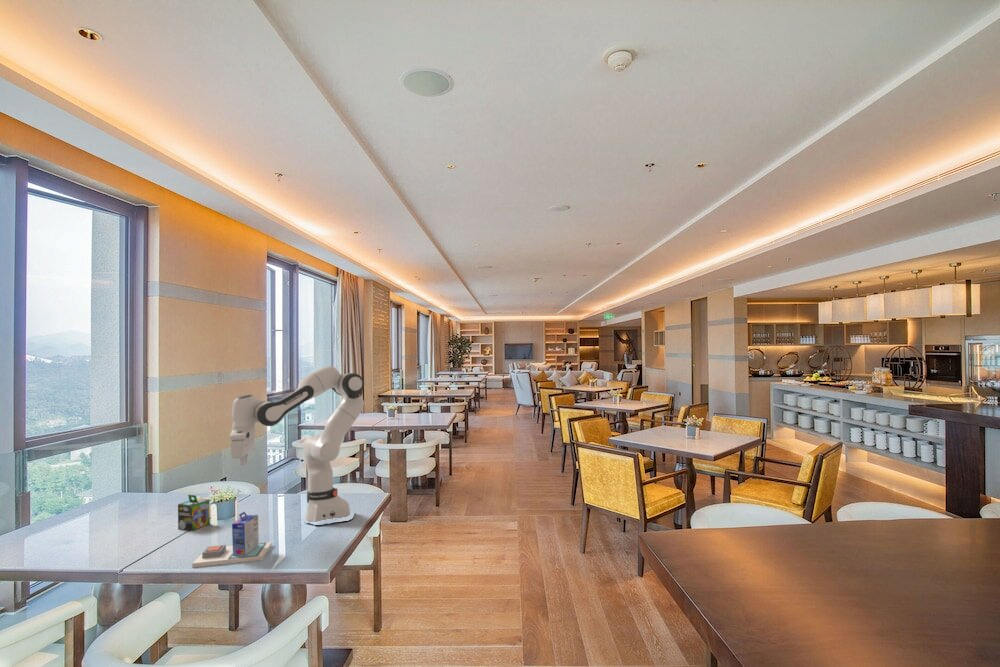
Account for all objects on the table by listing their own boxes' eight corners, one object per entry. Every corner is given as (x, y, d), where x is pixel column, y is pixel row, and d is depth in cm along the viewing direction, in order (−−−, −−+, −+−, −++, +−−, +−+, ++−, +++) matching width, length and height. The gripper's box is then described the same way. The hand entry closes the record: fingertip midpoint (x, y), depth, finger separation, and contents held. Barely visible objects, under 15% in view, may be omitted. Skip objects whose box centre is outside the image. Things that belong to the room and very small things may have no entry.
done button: (221, 550, 185) (221, 545, 185) (218, 555, 181) (218, 549, 182) (210, 551, 184) (210, 546, 185) (206, 556, 181) (206, 550, 181)
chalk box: (210, 524, 220) (210, 492, 221) (191, 531, 212) (192, 498, 212) (195, 522, 223) (196, 490, 224) (176, 529, 215) (177, 496, 215)
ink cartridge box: (245, 545, 191) (246, 508, 191) (259, 545, 191) (259, 508, 191) (231, 555, 181) (231, 517, 181) (245, 555, 181) (245, 517, 181)
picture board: (271, 545, 194) (271, 537, 194) (262, 560, 180) (262, 550, 180) (206, 552, 189) (206, 543, 189) (192, 567, 175) (192, 557, 175)
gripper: (243, 429, 217) (243, 459, 216) (227, 437, 197) (227, 470, 196) (258, 428, 218) (258, 458, 218) (244, 436, 198) (244, 469, 198)
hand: (243, 464), depth 207 cm, fingers closed
